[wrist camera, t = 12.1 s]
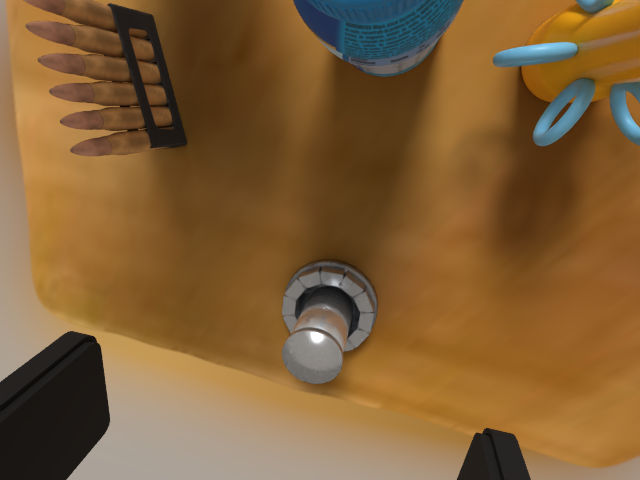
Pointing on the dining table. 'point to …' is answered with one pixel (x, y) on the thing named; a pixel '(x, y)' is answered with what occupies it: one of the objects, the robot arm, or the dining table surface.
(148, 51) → the ammunition clip
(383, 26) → the blue lidded canister
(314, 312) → the silver metal cylinder
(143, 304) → the dining table surface
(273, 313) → the dining table surface
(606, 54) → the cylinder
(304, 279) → the duct flange
